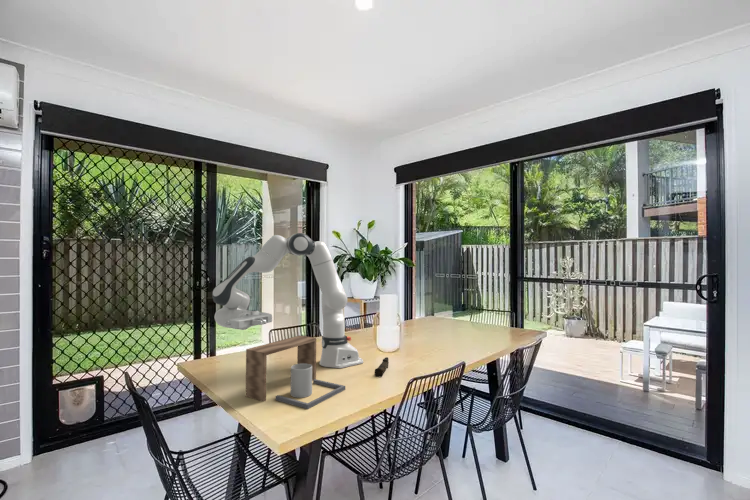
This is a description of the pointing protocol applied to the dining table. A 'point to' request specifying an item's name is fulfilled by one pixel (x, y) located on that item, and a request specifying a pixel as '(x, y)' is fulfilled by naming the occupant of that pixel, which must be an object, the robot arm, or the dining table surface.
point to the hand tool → (382, 367)
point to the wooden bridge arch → (258, 362)
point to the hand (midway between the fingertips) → (263, 322)
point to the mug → (301, 380)
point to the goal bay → (308, 405)
